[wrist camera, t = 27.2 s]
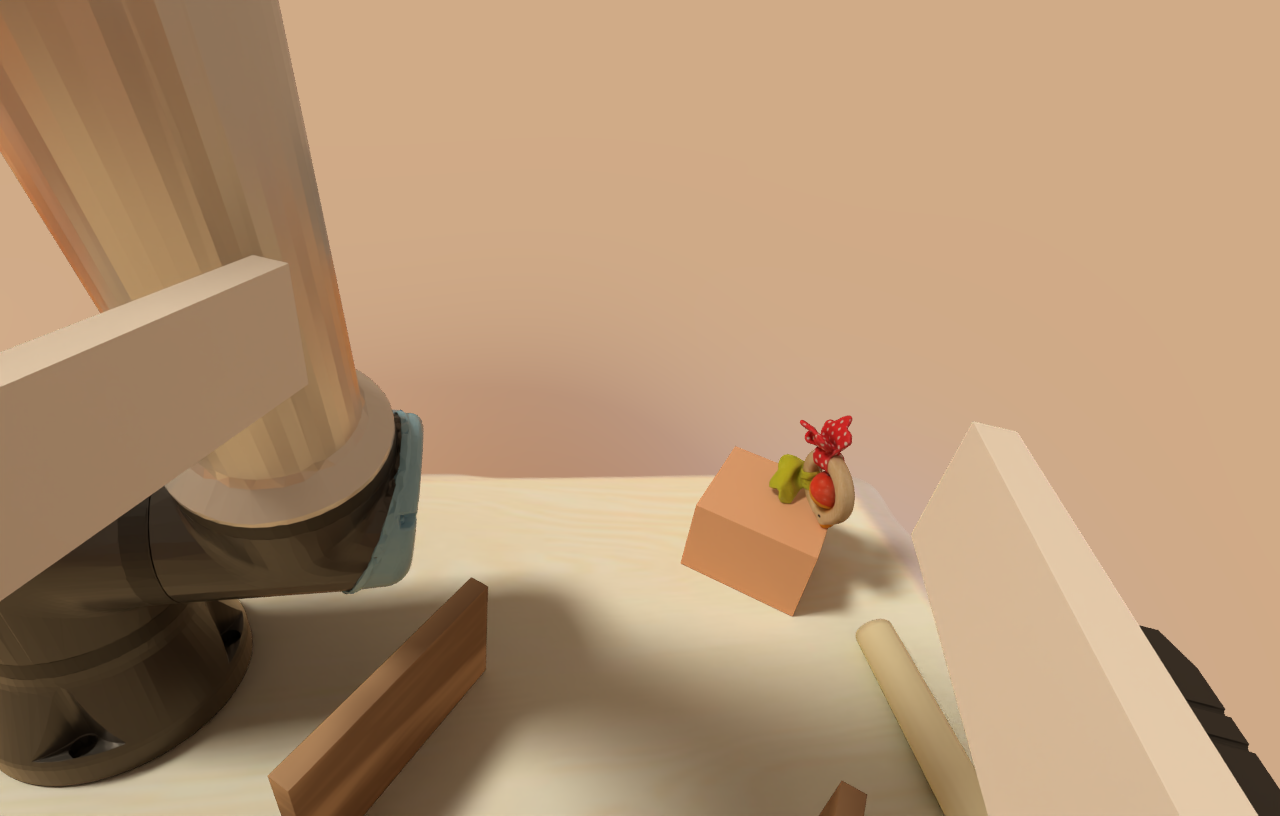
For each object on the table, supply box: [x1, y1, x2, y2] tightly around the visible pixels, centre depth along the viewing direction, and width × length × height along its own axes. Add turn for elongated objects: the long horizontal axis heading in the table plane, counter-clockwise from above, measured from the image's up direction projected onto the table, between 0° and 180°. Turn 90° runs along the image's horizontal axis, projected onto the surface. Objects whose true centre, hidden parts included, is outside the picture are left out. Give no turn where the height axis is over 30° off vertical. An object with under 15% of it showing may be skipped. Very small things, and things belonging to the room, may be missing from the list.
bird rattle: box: [769, 416, 855, 528], centre depth 57 cm, size 6×11×9 cm
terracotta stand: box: [681, 447, 828, 616], centre depth 63 cm, size 12×12×8 cm
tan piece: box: [856, 619, 988, 816], centre depth 44 cm, size 4×30×4 cm, turn 8°
